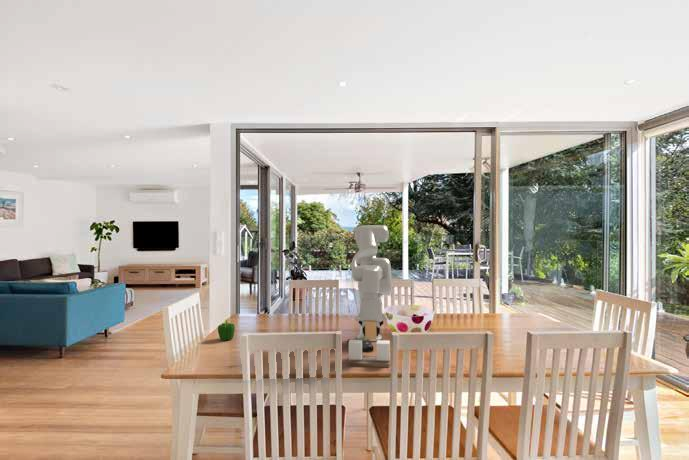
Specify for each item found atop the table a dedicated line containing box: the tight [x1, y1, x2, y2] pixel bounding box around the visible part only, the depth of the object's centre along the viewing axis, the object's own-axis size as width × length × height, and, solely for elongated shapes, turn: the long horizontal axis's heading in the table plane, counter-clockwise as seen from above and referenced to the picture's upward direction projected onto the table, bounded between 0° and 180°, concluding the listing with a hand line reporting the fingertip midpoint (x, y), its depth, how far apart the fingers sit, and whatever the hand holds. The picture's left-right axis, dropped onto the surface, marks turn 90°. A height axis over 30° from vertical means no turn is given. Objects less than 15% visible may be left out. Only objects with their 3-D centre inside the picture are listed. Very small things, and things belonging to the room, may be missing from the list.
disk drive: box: [346, 338, 374, 353], centre depth 201 cm, size 10×3×15 cm
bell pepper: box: [217, 319, 236, 341], centre depth 218 cm, size 8×8×10 cm
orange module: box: [365, 321, 377, 339], centre depth 191 cm, size 5×5×8 cm
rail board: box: [347, 339, 391, 368], centre depth 178 cm, size 10×17×9 cm, turn 82°
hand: (371, 335), depth 191 cm, fingers closed on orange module, 5 cm apart
